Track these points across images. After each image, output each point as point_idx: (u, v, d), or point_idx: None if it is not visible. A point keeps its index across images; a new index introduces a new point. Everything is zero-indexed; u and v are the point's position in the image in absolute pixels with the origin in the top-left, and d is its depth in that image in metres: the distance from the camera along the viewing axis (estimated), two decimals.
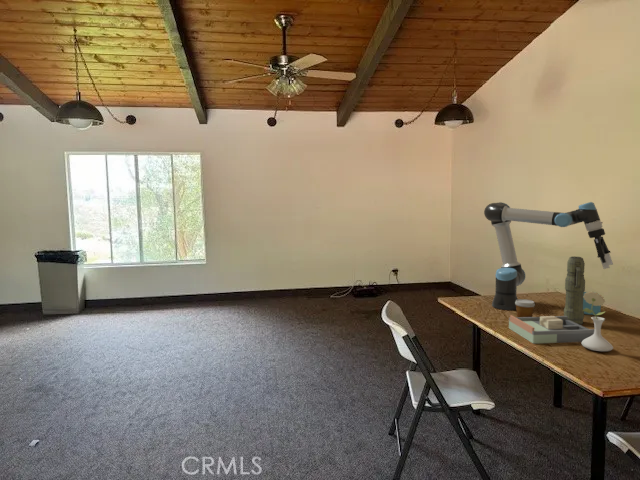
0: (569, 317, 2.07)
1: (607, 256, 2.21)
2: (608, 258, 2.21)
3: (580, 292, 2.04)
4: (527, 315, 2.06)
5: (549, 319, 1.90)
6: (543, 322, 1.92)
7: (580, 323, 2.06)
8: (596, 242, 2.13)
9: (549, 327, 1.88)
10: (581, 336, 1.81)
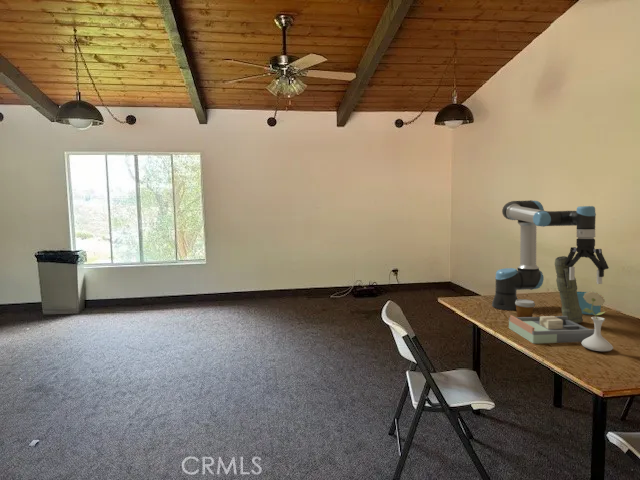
0: (568, 317, 2.07)
1: None
2: None
3: (573, 292, 2.04)
4: (527, 315, 2.06)
5: (549, 319, 1.90)
6: (543, 322, 1.92)
7: (580, 321, 2.05)
8: None
9: (549, 327, 1.88)
10: (581, 336, 1.81)
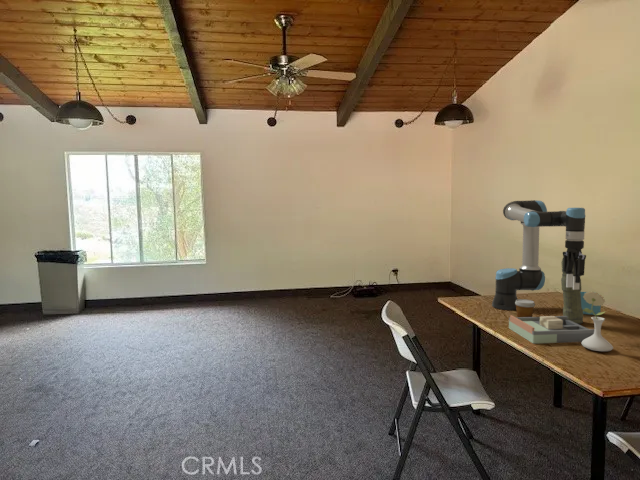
0: (568, 317, 2.07)
1: None
2: None
3: (577, 292, 2.04)
4: (527, 315, 2.06)
5: (549, 319, 1.90)
6: (543, 322, 1.92)
7: (580, 322, 2.05)
8: None
9: (549, 327, 1.88)
10: (581, 336, 1.81)
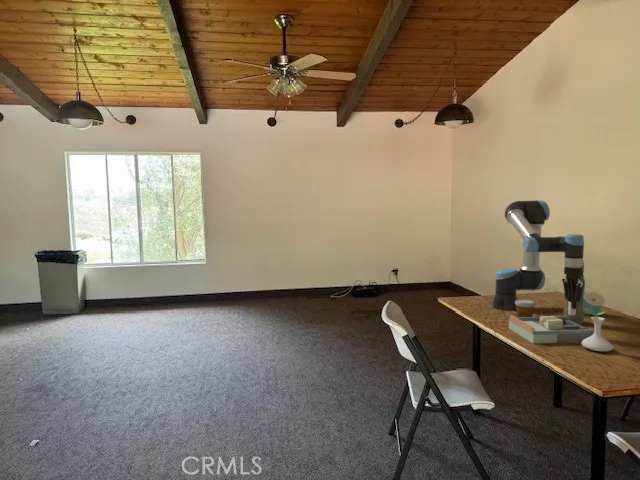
0: (569, 317, 2.07)
1: None
2: None
3: None
4: (527, 315, 2.06)
5: (549, 319, 1.90)
6: (543, 322, 1.92)
7: (580, 323, 2.06)
8: None
9: (549, 327, 1.88)
10: (581, 336, 1.81)
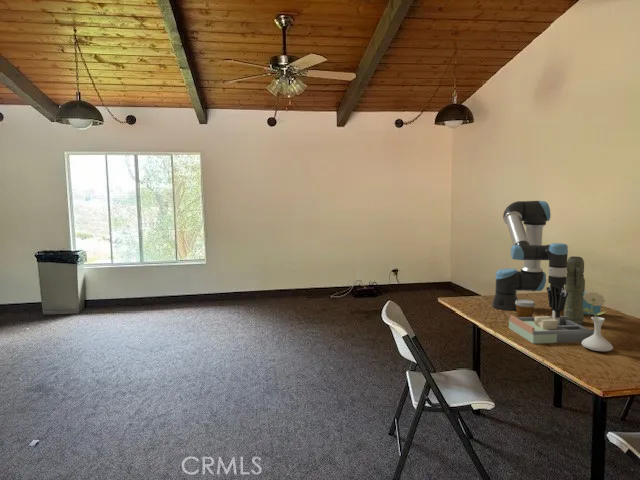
0: (569, 317, 2.07)
1: None
2: None
3: (580, 292, 2.04)
4: (527, 315, 2.06)
5: (544, 319, 1.90)
6: (537, 322, 1.92)
7: (580, 323, 2.06)
8: None
9: (544, 327, 1.88)
10: (581, 336, 1.81)
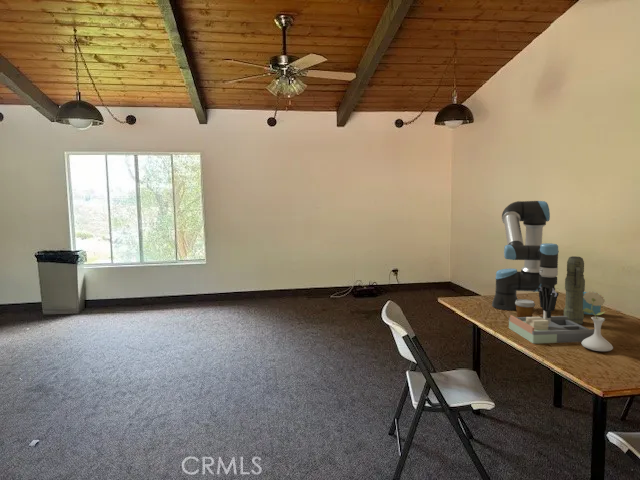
0: (569, 317, 2.07)
1: None
2: None
3: (580, 292, 2.04)
4: (527, 315, 2.06)
5: (535, 320, 1.89)
6: (529, 322, 1.91)
7: (580, 323, 2.06)
8: None
9: (535, 328, 1.88)
10: (581, 336, 1.81)
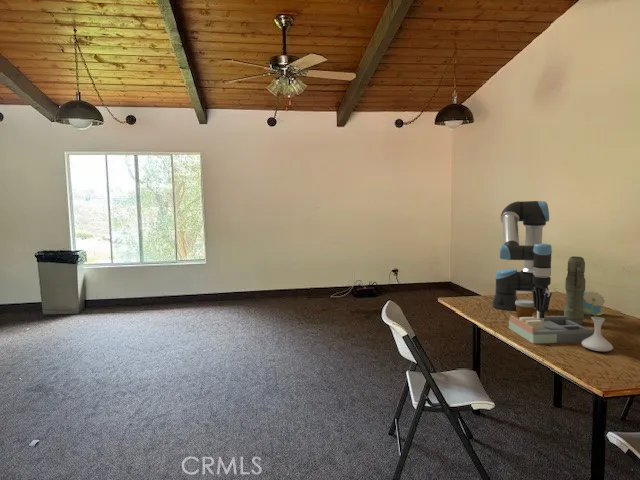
0: (569, 317, 2.07)
1: None
2: None
3: (580, 292, 2.04)
4: (527, 315, 2.06)
5: (528, 320, 1.89)
6: None
7: (580, 323, 2.06)
8: None
9: None
10: (581, 336, 1.81)
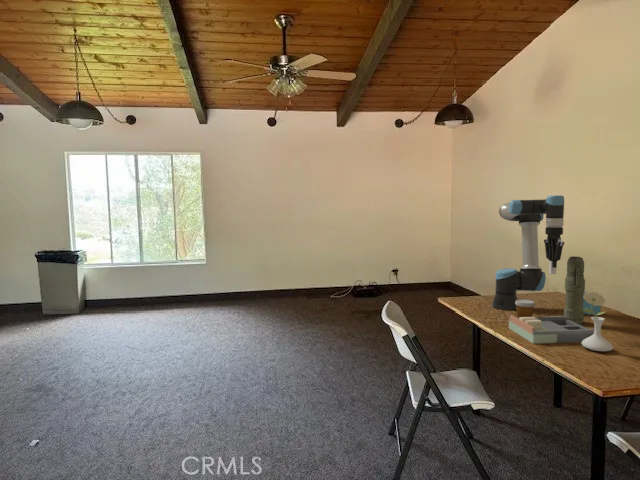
0: (569, 317, 2.07)
1: None
2: None
3: (580, 292, 2.04)
4: (527, 315, 2.06)
5: (528, 320, 1.89)
6: None
7: (580, 323, 2.06)
8: None
9: None
10: (581, 336, 1.81)
